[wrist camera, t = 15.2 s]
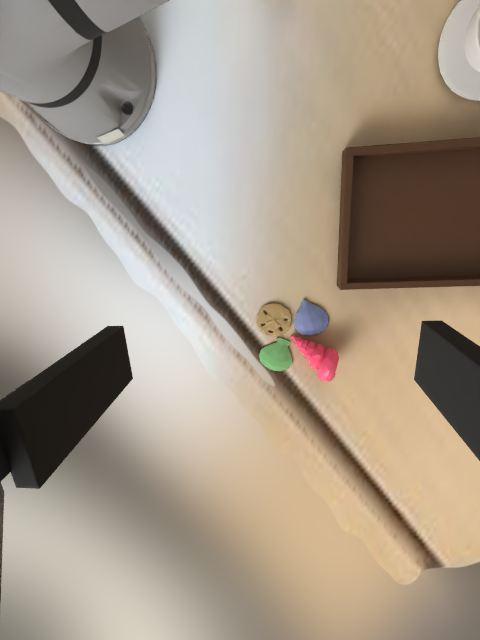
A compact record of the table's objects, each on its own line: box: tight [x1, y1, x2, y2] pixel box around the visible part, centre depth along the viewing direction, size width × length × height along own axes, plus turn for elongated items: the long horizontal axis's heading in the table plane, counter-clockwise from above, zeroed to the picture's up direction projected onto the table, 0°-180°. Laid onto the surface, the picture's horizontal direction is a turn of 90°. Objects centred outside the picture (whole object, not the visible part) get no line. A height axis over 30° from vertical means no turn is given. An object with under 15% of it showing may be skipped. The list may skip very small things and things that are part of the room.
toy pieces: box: [257, 300, 339, 381], centre depth 42 cm, size 12×11×4 cm
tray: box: [337, 137, 480, 290], centre depth 37 cm, size 16×24×2 cm, turn 93°
